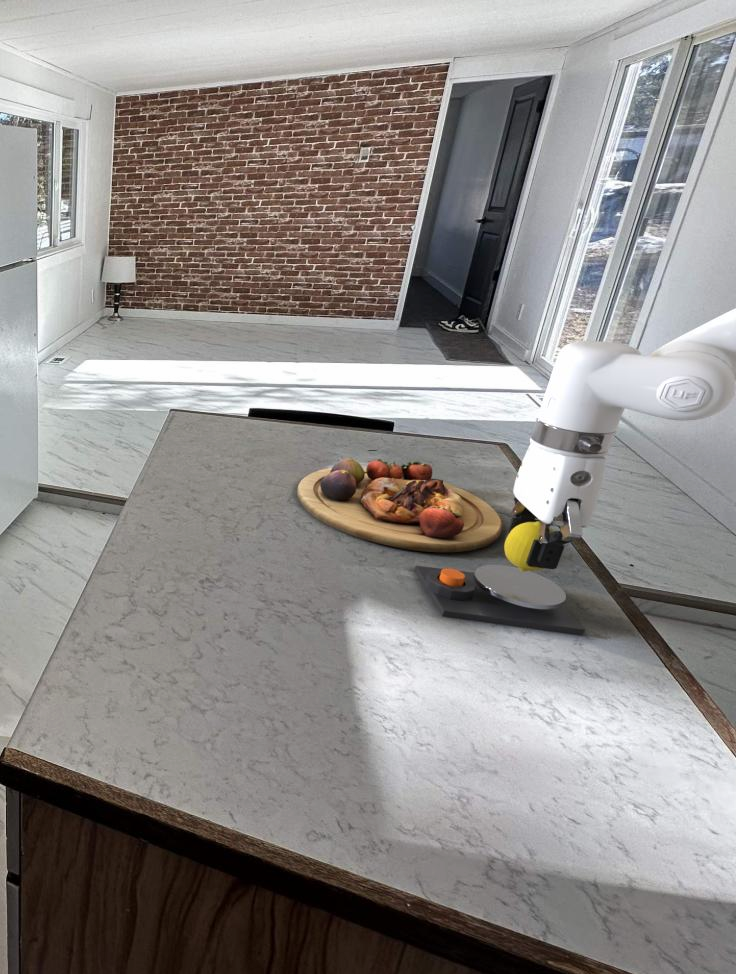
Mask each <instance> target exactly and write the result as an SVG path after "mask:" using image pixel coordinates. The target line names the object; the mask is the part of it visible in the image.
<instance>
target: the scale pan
mask: <svg viewBox="0 0 736 974" xmlns="http://www.w3.org/2000/svg"><path fill="white" fill-rule="evenodd" d="M474 581H475V582H476V584H477V585H478V586H479V587H480V588H481V589H483V590H484V591H486V592H487V593H489V594H491V595H492V596H494V597H496V598H499V599H501V600H503V601H506V602H509V603H512V604H515V605H519V606H523V607H527V608H533V609H545V610H546V609H556V608H559V607H561V606H562V605H563V606H564V604H565V602H566V600H567V595H566V592H565V590H564V589H563V588H562V587H561V586H560V585H558V584H557V583H555V582H554V581H552V580H551V579H549V578H547V577H544V576H543V575H540V574H539V573H535V572H533V571H531V570H529V571H525V572H524V571H521V570H520V569H519V568H518V567H517V566H510V565H505V564H485V565H481V566H479V567H477V568H476V569H475V570H474Z"/></svg>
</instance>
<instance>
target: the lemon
mask: <svg viewBox="0 0 736 974" xmlns="http://www.w3.org/2000/svg"><path fill="white" fill-rule="evenodd" d="M540 521H541V520H540ZM540 521H537V522H527V523H522V524H520V525H518V526H516V527H515V528H513V529H512V530H511V532H510V533H509V535H508V537H507V538H506V541H505V540H504V547H503V548H504V549H503V550H504V554H505V557H506V559H507V560H508V561H509V562H510V563H511V564H512V565H514V567H516V568H519V569H520V570H521V571H524V572H525V571H532V572H533V571H541V570H543V569H544V570H545V568H537V567H530V566H528V565H527V564H526V561H527V558H528V555H529V552H530V549H531V546H532V544H533V541H534V539H535V540H538V538H539V530H540ZM554 531H555V530H553V529H552V528H551V527H550V531H549V534H550V533H552V532H554Z"/></svg>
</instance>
